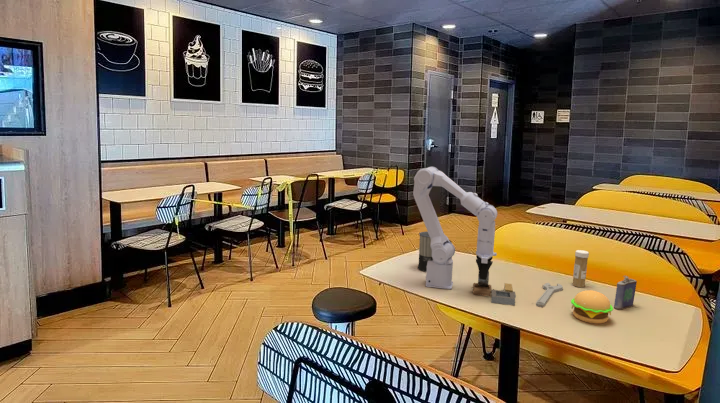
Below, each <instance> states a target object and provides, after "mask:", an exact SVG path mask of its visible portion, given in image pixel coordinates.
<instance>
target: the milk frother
mask: <svg viewBox="0 0 720 403" xmlns="http://www.w3.org/2000/svg"><path fill="white" fill-rule="evenodd" d="M418 235H419V246H418V247H419V248H418V264H417V265H418V266H417V270H419V271H421V272H422V271H423V272H427V262H428V261H433V258H432V249H431V246H430V245H431V239H430V236H429V233H428V231H421V232H419V233H418ZM449 241H450V242H451V243H452V244H453V242H452V241H451V239H449Z"/></svg>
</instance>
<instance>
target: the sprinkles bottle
mask: <svg viewBox="0 0 720 403" xmlns="http://www.w3.org/2000/svg"><path fill="white" fill-rule="evenodd" d="M574 254H575V255H574V256H575V259H574V264H573V265H574V266H573V275H572V277H573V278H572V284H571V285H572V286H574V287H577V288H584V287H586V277H587V269H588V259H589V254H590V253H589V251H587V250H583V249H582V250H581V249H577V250H575V253H574Z"/></svg>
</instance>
